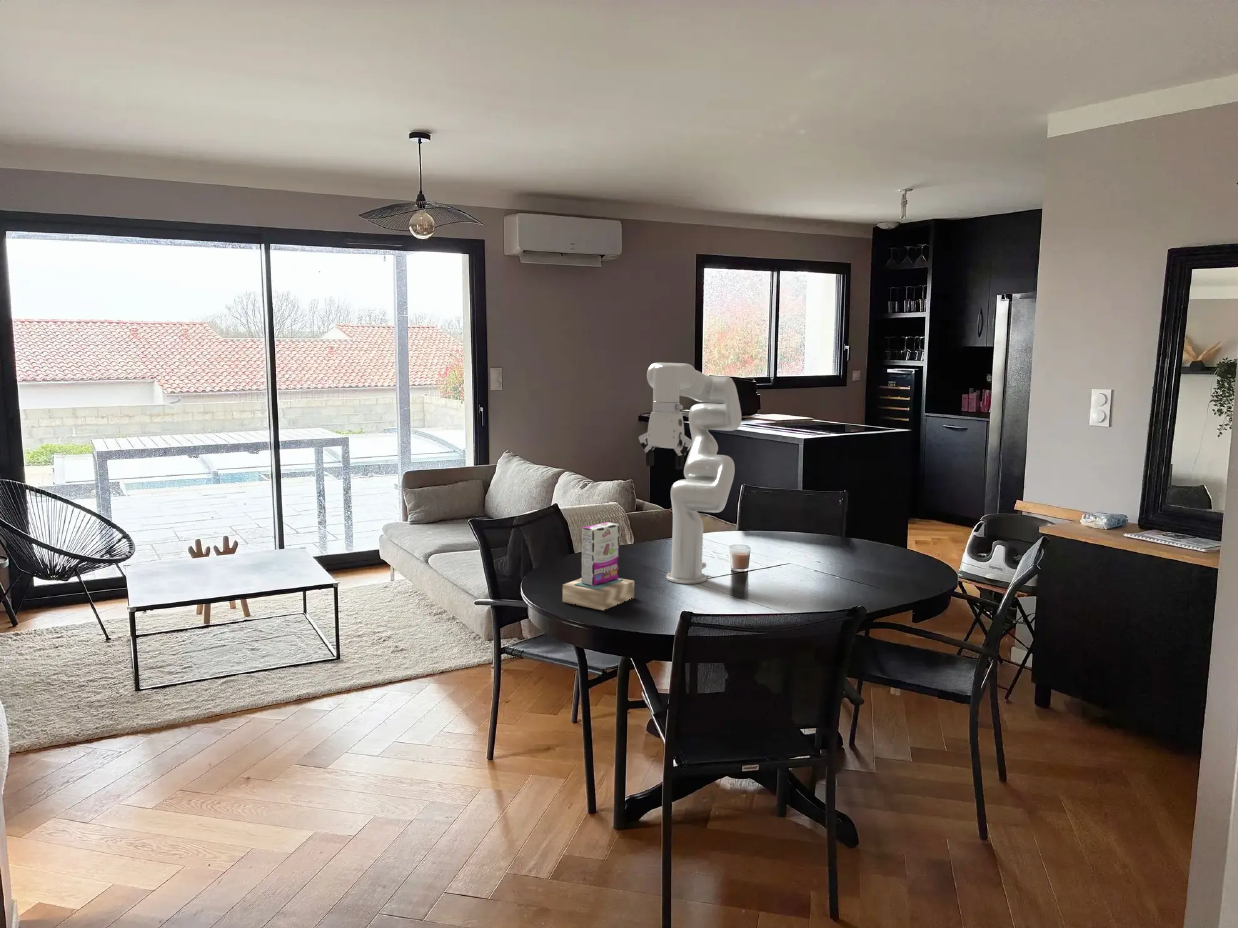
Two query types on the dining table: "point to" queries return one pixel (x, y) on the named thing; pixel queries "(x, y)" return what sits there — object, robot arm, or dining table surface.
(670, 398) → the robot arm
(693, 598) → the dining table surface
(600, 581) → the candy bar box
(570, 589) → the wooden brick
